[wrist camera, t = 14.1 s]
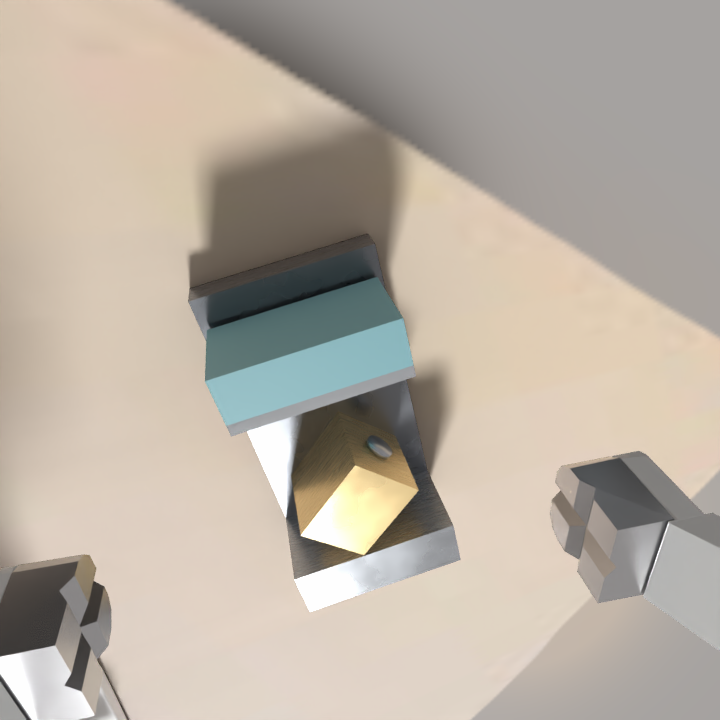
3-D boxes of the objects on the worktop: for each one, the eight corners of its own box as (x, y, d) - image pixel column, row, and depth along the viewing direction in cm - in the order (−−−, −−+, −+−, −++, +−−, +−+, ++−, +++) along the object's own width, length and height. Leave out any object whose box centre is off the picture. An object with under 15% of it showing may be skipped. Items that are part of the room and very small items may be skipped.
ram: (389, 329, 29) (415, 376, 25) (229, 380, 28) (231, 436, 24) (377, 276, 27) (403, 318, 23) (206, 330, 26) (204, 381, 23)
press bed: (427, 487, 37) (460, 559, 32) (297, 531, 37) (310, 611, 32) (367, 233, 28) (401, 280, 23) (189, 288, 27) (183, 349, 22)
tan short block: (347, 496, 34) (364, 555, 30) (291, 475, 32) (300, 535, 29) (398, 432, 33) (422, 486, 29) (341, 407, 31) (358, 460, 27)
